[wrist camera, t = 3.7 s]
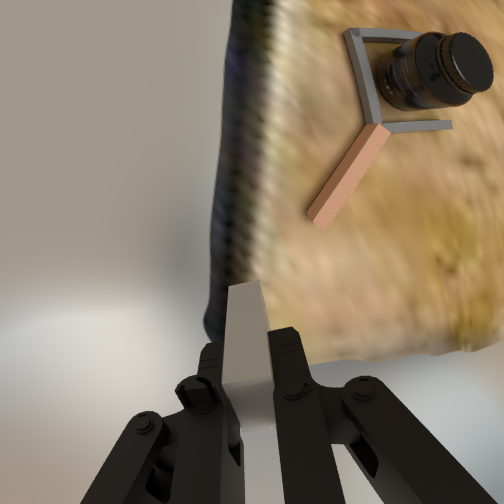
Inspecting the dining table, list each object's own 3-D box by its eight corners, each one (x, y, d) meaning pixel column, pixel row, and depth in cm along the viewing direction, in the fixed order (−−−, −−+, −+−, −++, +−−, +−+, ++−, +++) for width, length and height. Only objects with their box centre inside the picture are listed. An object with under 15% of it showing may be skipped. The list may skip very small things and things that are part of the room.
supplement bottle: (408, 46, 22) (477, 16, 11) (436, 100, 24) (512, 94, 13) (361, 61, 23) (424, 25, 12) (392, 120, 25) (467, 116, 14)
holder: (267, 39, 22) (269, 28, 20) (422, 37, 22) (436, 31, 19) (307, 223, 29) (314, 232, 26) (449, 195, 28) (464, 201, 25)
